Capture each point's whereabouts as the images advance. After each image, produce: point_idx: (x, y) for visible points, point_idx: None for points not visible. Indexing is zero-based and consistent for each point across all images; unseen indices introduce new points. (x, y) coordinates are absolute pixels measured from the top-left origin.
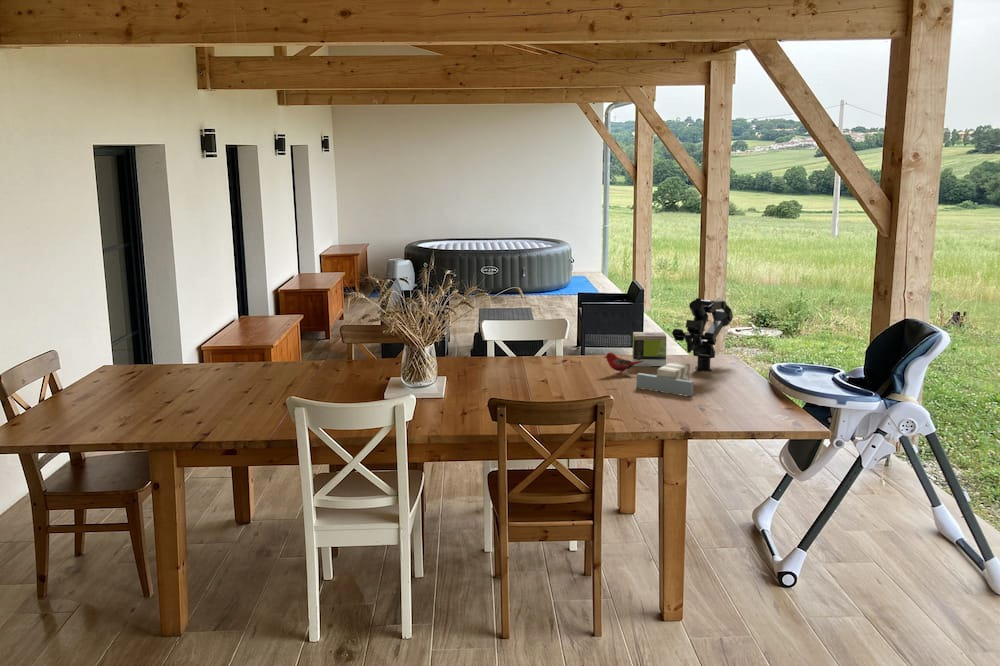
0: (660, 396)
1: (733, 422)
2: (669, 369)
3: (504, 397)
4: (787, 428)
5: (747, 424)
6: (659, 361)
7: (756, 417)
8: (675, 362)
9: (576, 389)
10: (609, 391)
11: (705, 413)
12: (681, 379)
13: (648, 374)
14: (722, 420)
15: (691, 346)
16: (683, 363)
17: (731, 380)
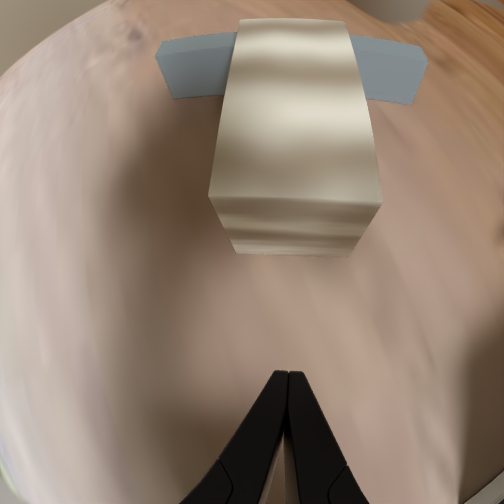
0: None
1: (79, 30)
2: (286, 31)
3: (498, 9)
4: (9, 71)
5: (58, 40)
6: (500, 493)
7: (33, 74)
8: (343, 180)
9: (489, 50)
10: (432, 46)
11: (127, 25)
12: (211, 47)
13: (383, 51)
14: (96, 24)
15: (242, 435)
16: (266, 180)
17: (69, 425)
